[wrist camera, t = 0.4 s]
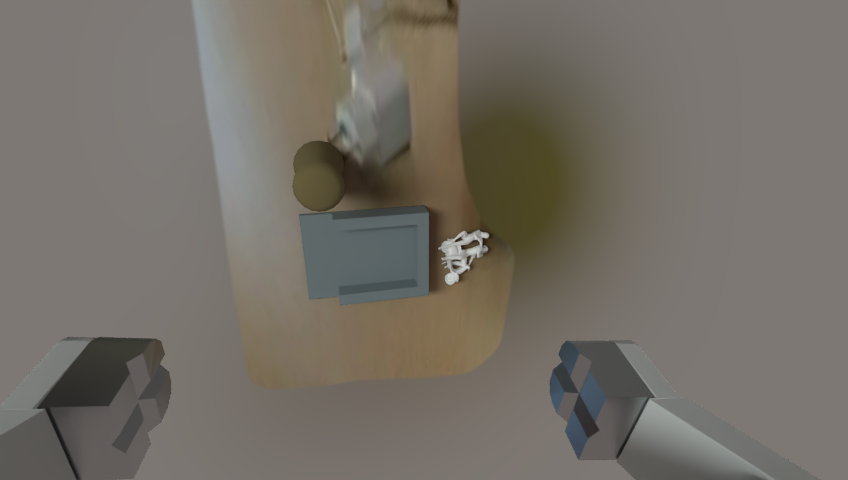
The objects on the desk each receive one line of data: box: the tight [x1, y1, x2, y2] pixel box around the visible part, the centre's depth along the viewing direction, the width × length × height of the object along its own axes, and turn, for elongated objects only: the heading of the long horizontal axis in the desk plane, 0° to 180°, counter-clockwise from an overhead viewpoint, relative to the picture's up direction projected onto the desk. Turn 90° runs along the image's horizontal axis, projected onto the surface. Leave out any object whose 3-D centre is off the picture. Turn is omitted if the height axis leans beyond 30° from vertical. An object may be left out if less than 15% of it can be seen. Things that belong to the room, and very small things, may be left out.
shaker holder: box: [299, 205, 429, 305], centre depth 56 cm, size 12×16×3 cm
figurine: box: [438, 230, 489, 285], centre depth 60 cm, size 3×8×8 cm
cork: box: [292, 141, 345, 212], centre depth 47 cm, size 6×6×11 cm
